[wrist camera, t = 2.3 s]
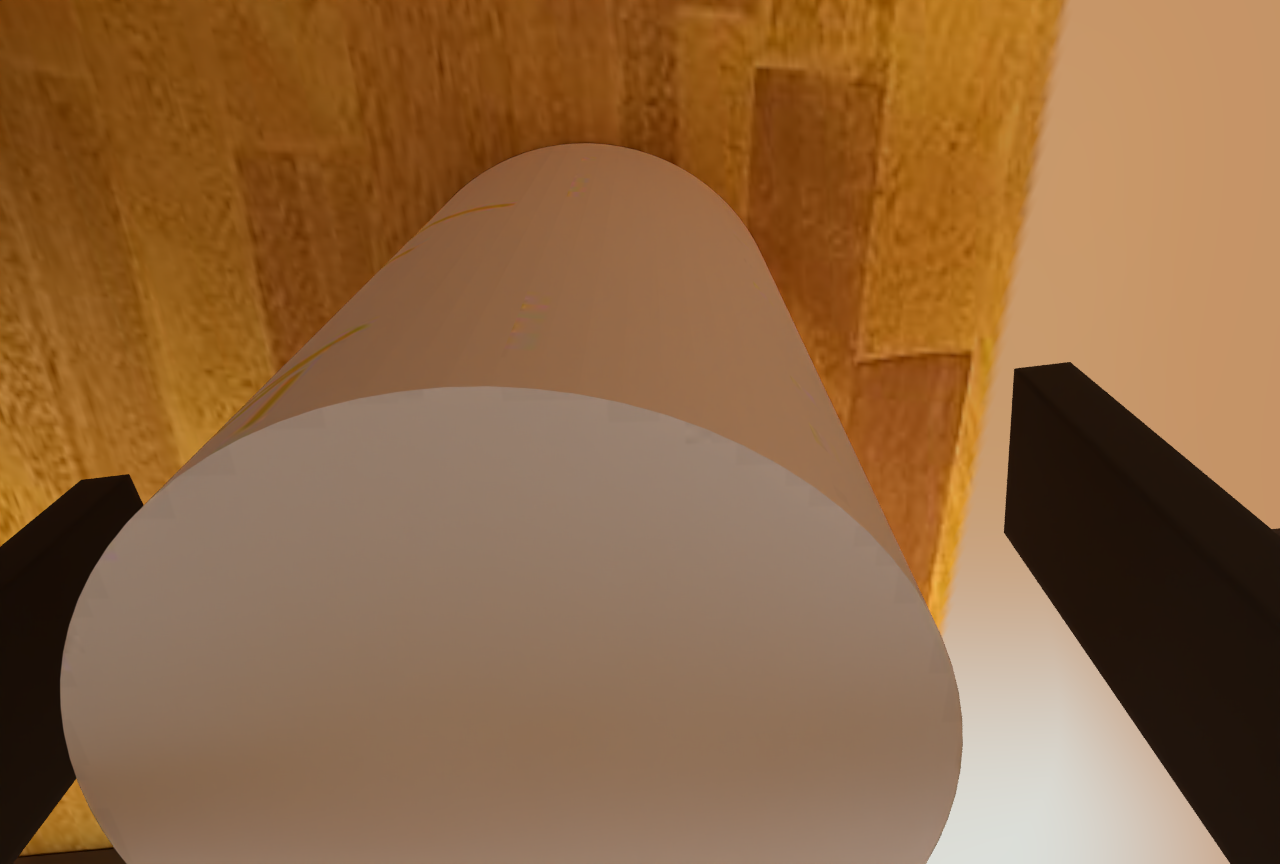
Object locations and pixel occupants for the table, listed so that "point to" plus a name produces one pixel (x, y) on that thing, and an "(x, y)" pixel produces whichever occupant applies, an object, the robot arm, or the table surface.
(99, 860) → the scale
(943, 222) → the table surface
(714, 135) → the table surface
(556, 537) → the cup
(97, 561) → the robot arm
